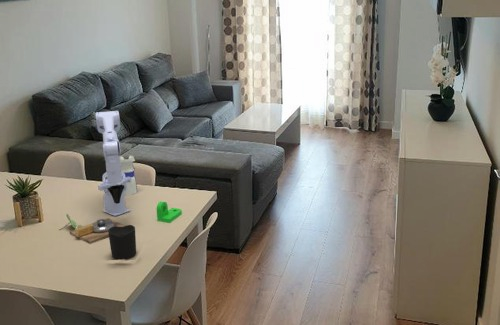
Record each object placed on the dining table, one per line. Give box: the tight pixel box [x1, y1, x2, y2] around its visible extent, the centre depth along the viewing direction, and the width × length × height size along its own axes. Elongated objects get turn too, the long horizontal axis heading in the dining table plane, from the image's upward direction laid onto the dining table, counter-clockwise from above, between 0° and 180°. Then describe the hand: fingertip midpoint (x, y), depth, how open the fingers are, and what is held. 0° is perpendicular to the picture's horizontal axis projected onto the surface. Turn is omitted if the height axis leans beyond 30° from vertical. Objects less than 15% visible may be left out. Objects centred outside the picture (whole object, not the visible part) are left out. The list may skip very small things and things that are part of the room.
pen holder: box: [108, 224, 137, 261], centre depth 199 cm, size 9×9×10 cm
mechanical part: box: [156, 201, 182, 224], centre depth 234 cm, size 12×6×8 cm, turn 157°
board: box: [69, 218, 127, 245], centre depth 221 cm, size 15×18×4 cm
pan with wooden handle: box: [74, 218, 114, 237], centre depth 220 cm, size 16×10×3 cm, turn 136°
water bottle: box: [120, 142, 138, 196], centre depth 259 cm, size 8×9×25 cm
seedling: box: [59, 213, 78, 231], centre depth 224 cm, size 7×8×7 cm
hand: (117, 202), depth 223 cm, fingers closed
